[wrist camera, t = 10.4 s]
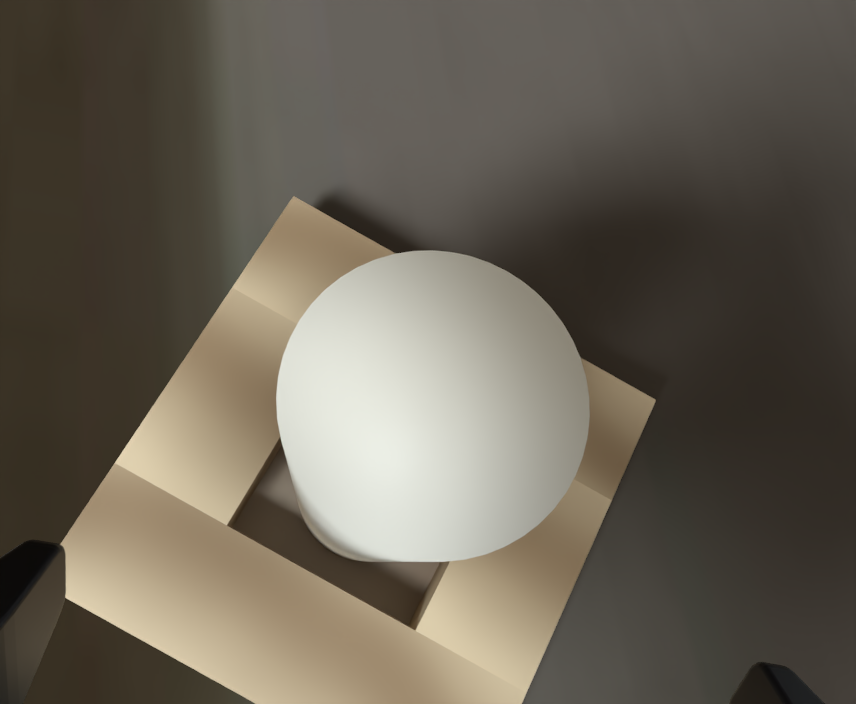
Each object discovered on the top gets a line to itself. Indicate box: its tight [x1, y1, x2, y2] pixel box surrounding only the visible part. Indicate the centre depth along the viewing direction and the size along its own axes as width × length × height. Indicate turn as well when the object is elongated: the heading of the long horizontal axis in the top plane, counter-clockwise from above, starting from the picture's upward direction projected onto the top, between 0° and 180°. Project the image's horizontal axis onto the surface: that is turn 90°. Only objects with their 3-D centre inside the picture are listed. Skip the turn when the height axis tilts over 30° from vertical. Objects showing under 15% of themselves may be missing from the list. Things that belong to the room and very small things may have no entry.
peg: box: [276, 250, 590, 562], centre depth 16 cm, size 4×4×12 cm
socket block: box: [60, 196, 656, 704], centre depth 21 cm, size 12×12×2 cm
